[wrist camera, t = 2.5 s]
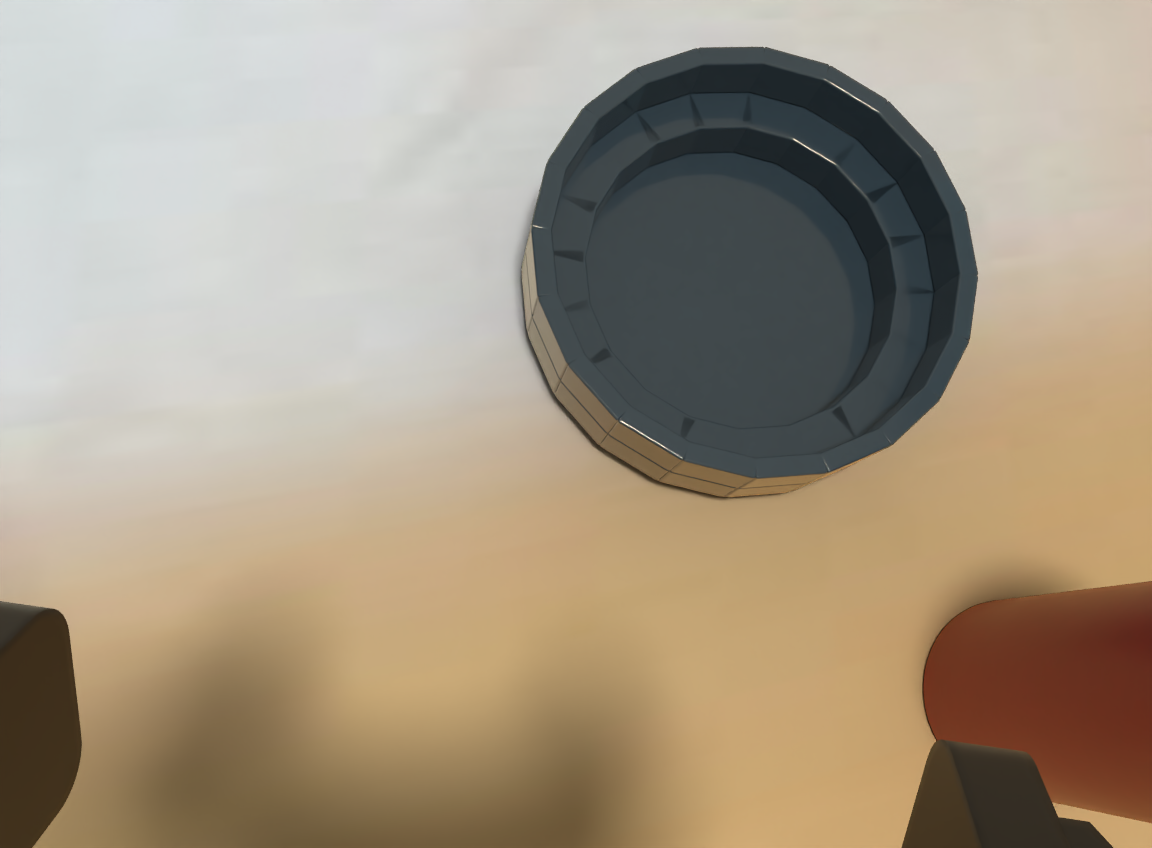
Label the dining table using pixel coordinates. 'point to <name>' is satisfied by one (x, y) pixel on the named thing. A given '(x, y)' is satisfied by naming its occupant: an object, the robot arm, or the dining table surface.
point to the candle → (1055, 690)
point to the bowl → (746, 271)
